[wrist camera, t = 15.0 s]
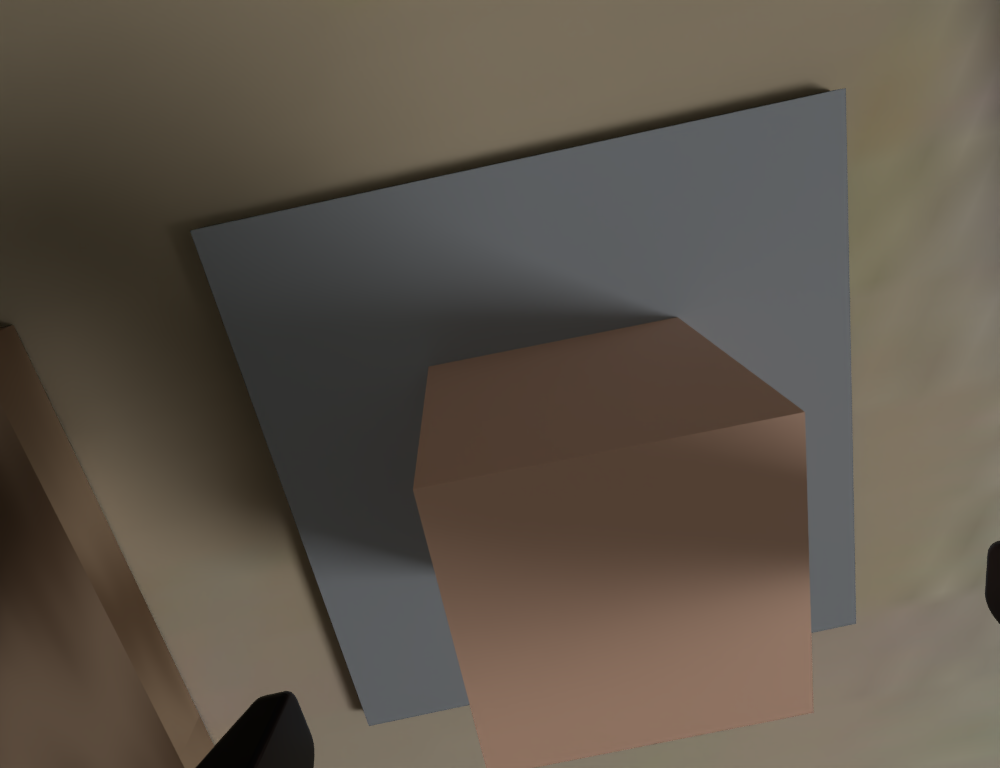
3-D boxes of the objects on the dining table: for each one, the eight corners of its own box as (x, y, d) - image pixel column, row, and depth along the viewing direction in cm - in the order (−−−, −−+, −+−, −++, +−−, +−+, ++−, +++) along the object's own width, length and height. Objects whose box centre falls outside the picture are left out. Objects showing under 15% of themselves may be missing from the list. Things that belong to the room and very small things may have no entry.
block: (698, 532, 15) (813, 713, 10) (478, 575, 15) (488, 776, 10) (677, 316, 13) (805, 412, 8) (428, 366, 13) (412, 490, 8)
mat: (846, 612, 16) (855, 623, 16) (371, 712, 16) (369, 726, 16) (833, 89, 12) (845, 88, 12) (198, 228, 12) (190, 231, 12)
